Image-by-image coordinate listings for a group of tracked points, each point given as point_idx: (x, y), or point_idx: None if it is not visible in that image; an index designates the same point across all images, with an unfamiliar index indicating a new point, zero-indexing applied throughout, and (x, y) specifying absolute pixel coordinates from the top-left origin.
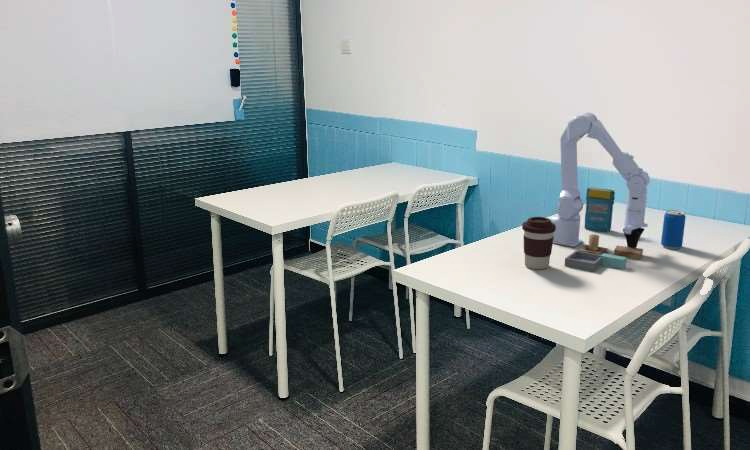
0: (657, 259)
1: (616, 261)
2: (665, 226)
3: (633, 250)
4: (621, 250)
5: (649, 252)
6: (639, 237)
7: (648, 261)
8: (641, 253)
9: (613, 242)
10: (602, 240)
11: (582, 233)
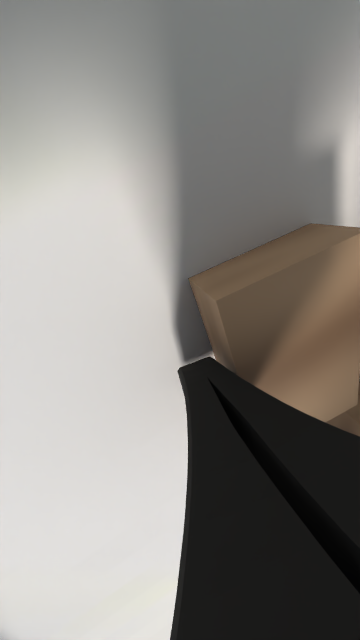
0: (199, 81)
1: None
2: None
3: (313, 326)
4: (352, 374)
5: (43, 288)
6: (227, 477)
7: (312, 139)
8: (290, 253)
9: (80, 537)
10: (103, 565)
11: (88, 634)
